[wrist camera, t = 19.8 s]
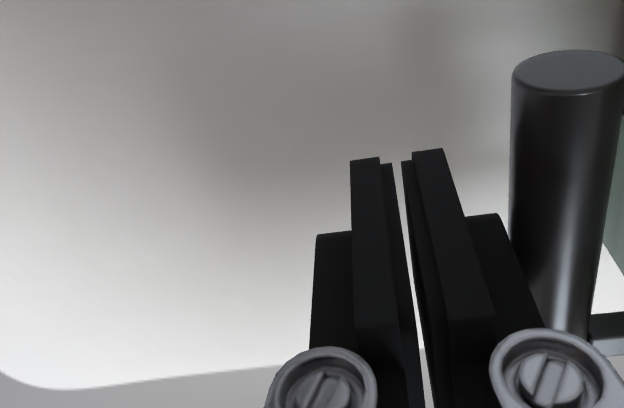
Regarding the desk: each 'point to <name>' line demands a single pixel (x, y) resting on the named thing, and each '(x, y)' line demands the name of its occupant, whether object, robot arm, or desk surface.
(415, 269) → the robot arm
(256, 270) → the desk surface
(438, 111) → the desk surface
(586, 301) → the drawer
